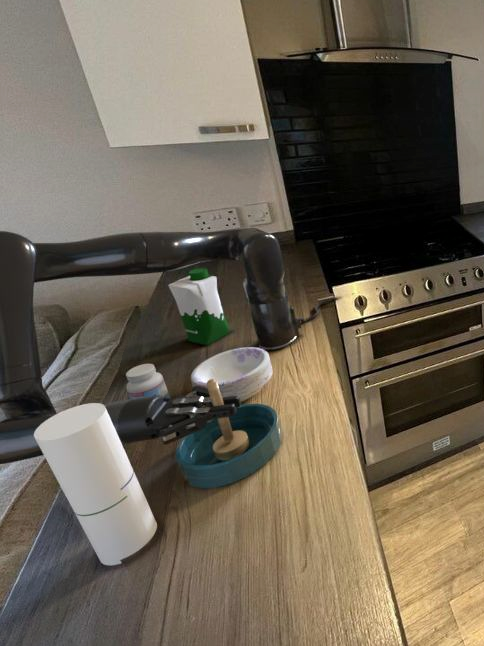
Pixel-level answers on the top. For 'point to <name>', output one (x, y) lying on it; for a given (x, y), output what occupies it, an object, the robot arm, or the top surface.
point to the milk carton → (200, 307)
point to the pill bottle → (145, 382)
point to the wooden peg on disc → (226, 430)
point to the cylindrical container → (97, 480)
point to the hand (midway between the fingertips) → (237, 405)
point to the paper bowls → (235, 372)
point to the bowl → (212, 472)
